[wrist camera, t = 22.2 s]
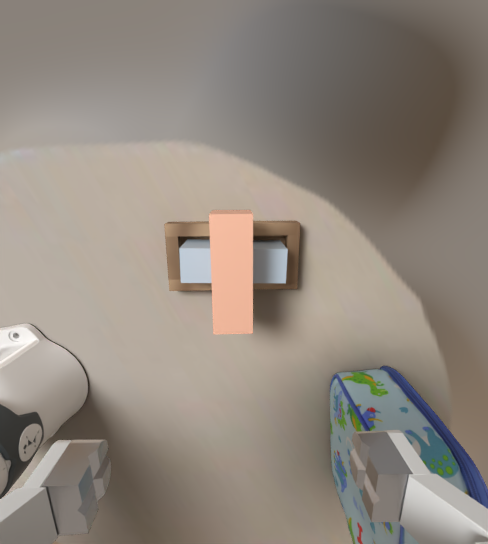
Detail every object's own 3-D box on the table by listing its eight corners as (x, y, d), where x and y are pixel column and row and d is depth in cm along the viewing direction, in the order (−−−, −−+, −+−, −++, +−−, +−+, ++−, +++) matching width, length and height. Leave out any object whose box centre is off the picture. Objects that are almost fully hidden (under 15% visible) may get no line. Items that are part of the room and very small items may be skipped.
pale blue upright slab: (188, 269, 40) (180, 282, 34) (187, 239, 38) (179, 248, 33) (278, 269, 40) (285, 283, 34) (279, 240, 39) (287, 249, 33)
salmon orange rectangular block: (212, 210, 32) (208, 214, 27) (250, 209, 32) (253, 213, 27) (216, 314, 35) (213, 334, 30) (250, 313, 35) (252, 333, 30)
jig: (173, 284, 41) (169, 290, 38) (168, 221, 38) (164, 224, 36) (293, 282, 41) (297, 288, 39) (295, 220, 39) (300, 222, 36)
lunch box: (390, 483, 52) (490, 671, 32) (329, 491, 52) (390, 683, 32) (393, 351, 45) (523, 485, 25) (322, 360, 45) (395, 501, 25)
